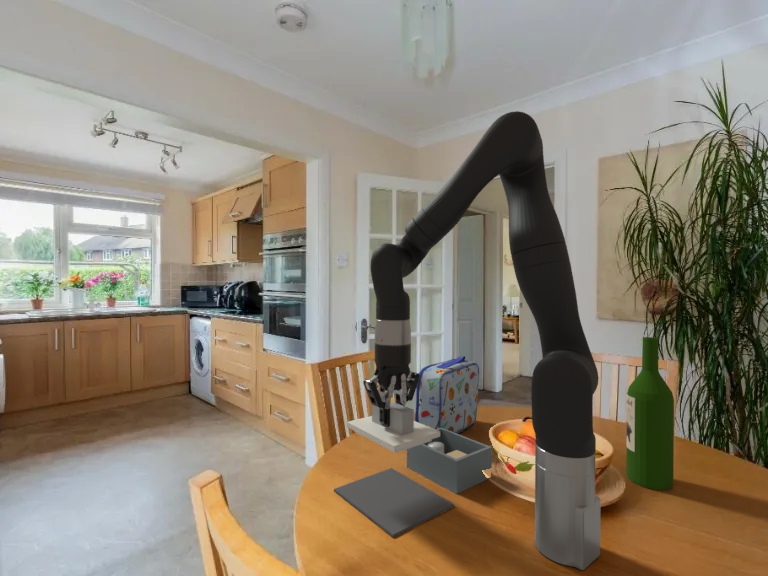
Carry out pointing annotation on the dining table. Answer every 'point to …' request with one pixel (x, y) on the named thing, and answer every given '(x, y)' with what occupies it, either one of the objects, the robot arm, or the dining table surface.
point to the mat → (393, 501)
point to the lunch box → (448, 395)
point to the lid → (394, 429)
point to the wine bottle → (650, 424)
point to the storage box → (451, 460)
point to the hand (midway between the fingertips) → (392, 423)
